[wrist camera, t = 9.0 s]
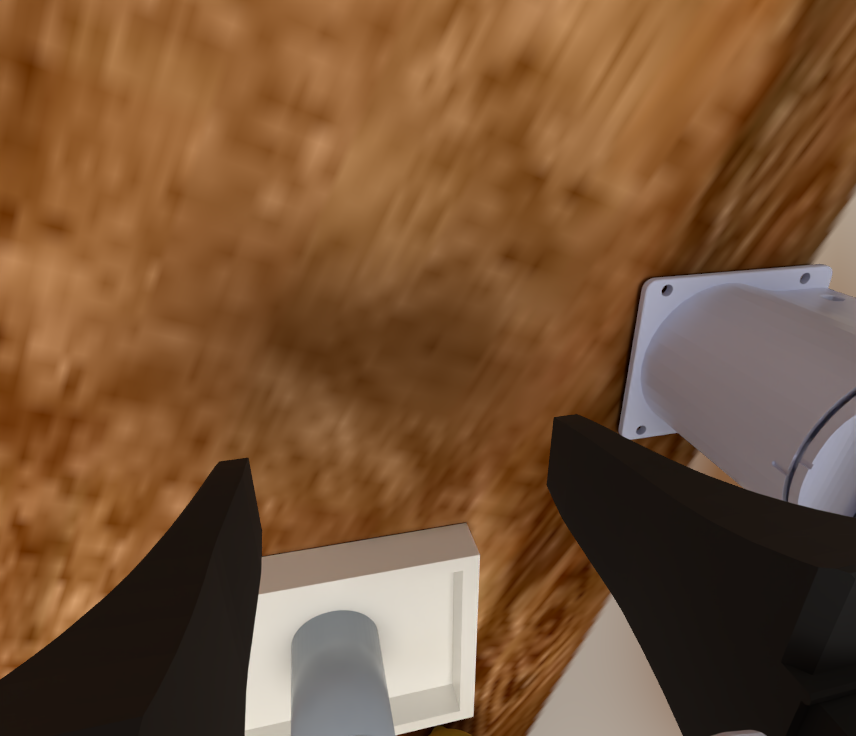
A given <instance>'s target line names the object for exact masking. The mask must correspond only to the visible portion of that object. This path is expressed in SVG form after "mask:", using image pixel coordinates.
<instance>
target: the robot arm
mask: <svg viewBox="0 0 856 736" xmlns="http://www.w3.org/2000/svg"><path fill="white" fill-rule="evenodd" d="M802 275H803V276H802ZM801 276H802V278H801ZM831 277H832V268H831V267H829V266H827V265H823V264H815V265H803V266H791V267H779V268H766V269H754V270H742V271H730V272H718V273H706V274H693V275H681V276H669V277H657V278H651V279H649V280H648V281H646V282H645V284H644V285H643V287H642V290H641V296H640V302H639V308H638V314H637V320H636V327H635V333H634V339H633V345H632V351H631V357H630V363H629V369H628V375H627V381H626V387H625V393H624V399H623V405H622V411H621V417H620V424H619V434H620V435H619V434H617V433H616V432H614V431H612V430H610V429H608V428H606V427H604V426H602V425H600V424H598V423H596V422H594V421H591V420H589V419H587V418H585V417H582V416H580V415H577V414H575V415H567V416H560V417H554V420H553V430H552V439H551V449H550V459H549V468H548V478H547V487H548V489H549V491H550V493H551V496H552V498H553V500H554V502H555V504H556V506H557V509H558V511H559V513H560V515H561V517H562V519H563V520H564V522H565V524H566V525H567V527H568V528H569V530H570V531H571V533H572V535H573V536H574V538H575V539H576V541H577V542H578V544H579V545H580V547H581V548H582V550H583V551H584V553H585V554H586V556H587V557H588V559H589V560H590V562H591V563H592V565H593V566H594V568H595V569H596V571H597V572H598V574H599V575H600V577H601V578H602V580H603V581H604V583H605V584H606V586H607V587H608V589H609V590H610V592H611V593H612V595H613V597H614V598H615V600H616V602H617V603H618V605H619V607H620V608H621V610H622V612H623V614H624V615H625V617H626V619H627V621H628V623H629V625H630V627H631V629H632V631H633V633H634V635H635V636H636V638H637V640H638V642H639V644H640V646H641V648H642V650H643V652H644V654H645V656H646V658H647V660H648V662H649V664H650V666H651V668H652V670H653V672H654V674H655V676H656V678H657V680H658V682H659V685H660V687H661V688H662V690H663V693H664V695H665V697H666V699H667V702H668V704H669V706H670V708H671V710H672V712H673V715H674V717H675V719H676V721H677V723H678V726H679V728H680V730H681V732H682V735H683V736H856V298H855V297H852V296H849V295H846V294H843V293H840V292H836V291H834V290H831V289H828V287H829V283H830V280H831ZM800 278H801V279H800ZM665 285H667V289H666V291H665V292H664V293H662V289H663V287H664V286H665ZM639 426H641V428H640V429H639V430H637V428H638V427H639ZM673 433H679V434H680V435H681V436H682V437H683V438H685V439H686V440H687V441H688V442H689V443H691V444H692V445H693V446H694V447H695V448H697V449H698V450H699V451H700V452H701V453H703V454H704V455H705V456H706V457H707V458H708V459H710V460H711V461H712V462H713V463H714V464H716V465H717V466H718V467H719V468H720V469H721V470H723V471H724V472H725V473H726V474H727V475H729V476H730V477H731V478H732V479H733V480H735V481H736V482H737V483H738V484H740V485H741V486H742V487H743V488H744V489H743V488H740V487H738V486H735V485H732V484H729V483H727V482H724V481H721V480H718V479H716V478H713V477H710V476H708V475H705V474H703V473H700V472H698V471H695V470H693V469H691V468H688V467H686V466H684V465H682V464H679V463H677V462H675V461H673V460H670V459H668V458H666V457H664V456H662V455H660V454H658V453H655V452H653V451H651V450H649V449H647V448H645V447H643V446H641V445H639V444H637V443H635V442H633V441H631V440H632V439H639V438H645V437H652V436H659V435H666V434H673ZM261 568H262V528H261V523H260V518H259V512H258V507H257V501H256V496H255V491H254V485H253V480H252V475H251V469H250V464H249V458H243V459H235V460H228V461H220V462H219V463H218V464H217V465H216V466H215V467H214V469H213V470H212V472H211V473H210V474H209V476H208V477H207V479H206V480H205V482H204V483H203V485H202V486H201V487H200V489H199V490H198V492H197V493H196V494H195V496H194V497H193V498H192V500H191V501H190V503H189V504H188V505H187V507H186V508H185V509H184V510H183V512H182V513H181V514H180V516H179V517H178V518H177V520H176V521H175V522H174V523H173V525H172V526H171V527H170V528H169V530H168V531H167V532H166V533H165V534H164V536H163V537H162V538H161V539H160V540H159V541H158V543H157V544H156V545H155V546H154V547H153V548H152V549H151V551H150V552H149V553H148V554H147V555H146V556H145V558H144V559H143V560H142V561H141V562H140V563H139V564H138V565H137V566H136V567H135V568H134V569H133V570H132V571H131V572H130V574H129V575H128V576H127V577H126V578H124V579H123V580H122V581H121V582H120V583H119V584H118V585H117V586H116V587H115V588H114V589H113V590H112V591H111V592H110V593H109V594H108V595H107V596H106V597H105V598H103V599H102V600H101V601H100V602H99V603H98V604H96V605H95V606H94V607H93V608H92V609H91V610H89V611H88V612H87V613H86V614H85V615H84V616H82V617H81V618H80V619H79V620H78V621H76V622H75V623H74V624H73V625H72V626H71V627H69V628H68V629H67V630H66V631H65V632H64V633H62V634H61V635H60V636H59V637H57V638H56V639H55V640H53V641H52V642H51V643H50V644H48V645H47V646H46V647H44V648H43V649H42V650H40V651H39V652H38V653H36V654H35V655H34V656H32V657H31V658H30V659H28V660H27V661H26V662H24V663H23V664H21V665H20V666H19V667H17V668H16V669H15V670H13V671H12V672H10V673H9V674H8V675H6V676H5V677H3V678H2V679H0V736H245V713H246V689H247V679H248V668H249V661H250V653H251V646H252V639H253V631H254V624H255V617H256V610H257V602H258V595H259V587H260V579H261Z"/></svg>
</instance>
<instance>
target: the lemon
mask: <svg viewBox="0 0 856 736" xmlns="http://www.w3.org/2000/svg"><path fill="white" fill-rule="evenodd" d="M429 736H472V735H471V734H469V733H467V732H464V731H462V730H458V729H447V728H445V727H443V726H436V727H435V728H434V729H433V731H432V732H431V734H430V735H429Z"/></svg>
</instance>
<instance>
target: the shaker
mask: <svg viewBox="0 0 856 736" xmlns="http://www.w3.org/2000/svg"><path fill="white" fill-rule="evenodd" d="M291 736H395V730H394V724H393V718H392V712H391V706H390V700H389V694H388V688H387V682H386V676H385V670H384V664H383V658H382V652H381V646H380V640H379V634H378V629H377V627H376V625H375V623H374V622H373V621H372V620H371V619H370V618H369V617H367V616H366V615H364V614H362V613H359V612H355V611H349V610H338V611H331V612H327V613H323V614H321V615H318V616H316V617H314V618H312V619H310V620H309V621H307V622H306V623H304V624H303V625H302V626H301V627H300V628H299V629H298V630H297V632H296V633H295V635H294V637H293V639H292V643H291Z"/></svg>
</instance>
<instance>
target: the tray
mask: <svg viewBox="0 0 856 736" xmlns="http://www.w3.org/2000/svg"><path fill="white" fill-rule="evenodd" d="M479 566H480V554H479V551H478V549H477V547H476V544H475V542H474V539H473V537H472V535H471V532H470V530H469V528H468V525H467V523H462V524H456V525H450V526H444V527H438V528H432V529H426V530H420V531H415V532H409V533H403V534H397V535H391V536H385V537H379V538H373V539H367V540H361V541H355V542H349V543H343V544H337V545H331V546H325V547H319V548H313V549H307V550H301V551H295V552H289V553H283V554H277V555H271V556H265V557H262V568H261V579H260V587H259V595H258V602H257V610H256V617H255V624H254V631H253V639H252V646H251V653H250V661H249V668H248V679H247V689H246V713H245V736H291V643H292V639H293V637H294V635H295V633H296V632H297V630H298V629H299V628H300V627H301V626H302V625H303V624H304V623H306V622H307V621H309V620H310V619H312V618H314V617H316V616H318V615H321V614H323V613H327V612H331V611H338V610H349V611H355V612H359V613H362V614H364V615H366V616H367V617H369V618H370V619H371V620H372V621H373V622H374V623H375V625H376V627H377V629H378V634H379V640H380V646H381V652H382V658H383V664H384V670H385V676H386V682H387V688H388V694H389V700H390V706H391V712H392V718H393V724H394V730H395V735H399V734H403V733H407V732H412V731H416V730H420V729H424V728H428V727H432V726H437V725H441V724H445V723H449V722H453V721H457V720H462V719H466V718H470V717H473V715H474V691H475V666H476V641H477V616H478V591H479Z"/></svg>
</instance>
